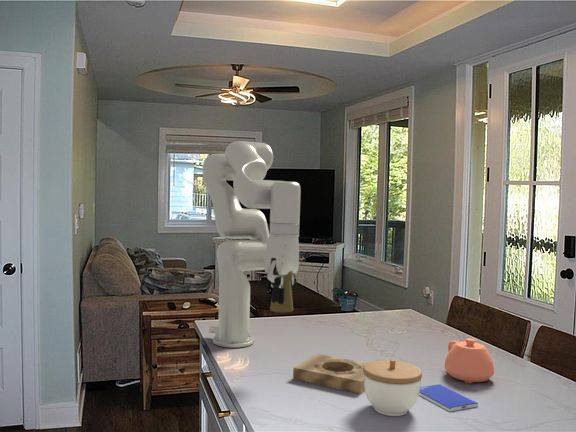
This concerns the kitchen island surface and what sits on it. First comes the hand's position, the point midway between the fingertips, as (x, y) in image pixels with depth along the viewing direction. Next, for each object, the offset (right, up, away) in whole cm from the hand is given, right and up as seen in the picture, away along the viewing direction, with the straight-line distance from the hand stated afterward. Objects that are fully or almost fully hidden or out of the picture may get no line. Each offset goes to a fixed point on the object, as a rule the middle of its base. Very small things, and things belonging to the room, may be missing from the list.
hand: (282, 300), depth 141 cm
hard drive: (+38, -22, -12) cm, 45 cm away
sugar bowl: (+48, -21, +4) cm, 53 cm away
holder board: (+14, -20, -1) cm, 24 cm away
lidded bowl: (+24, -21, -20) cm, 37 cm away
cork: (0, -2, 0) cm, 2 cm away
